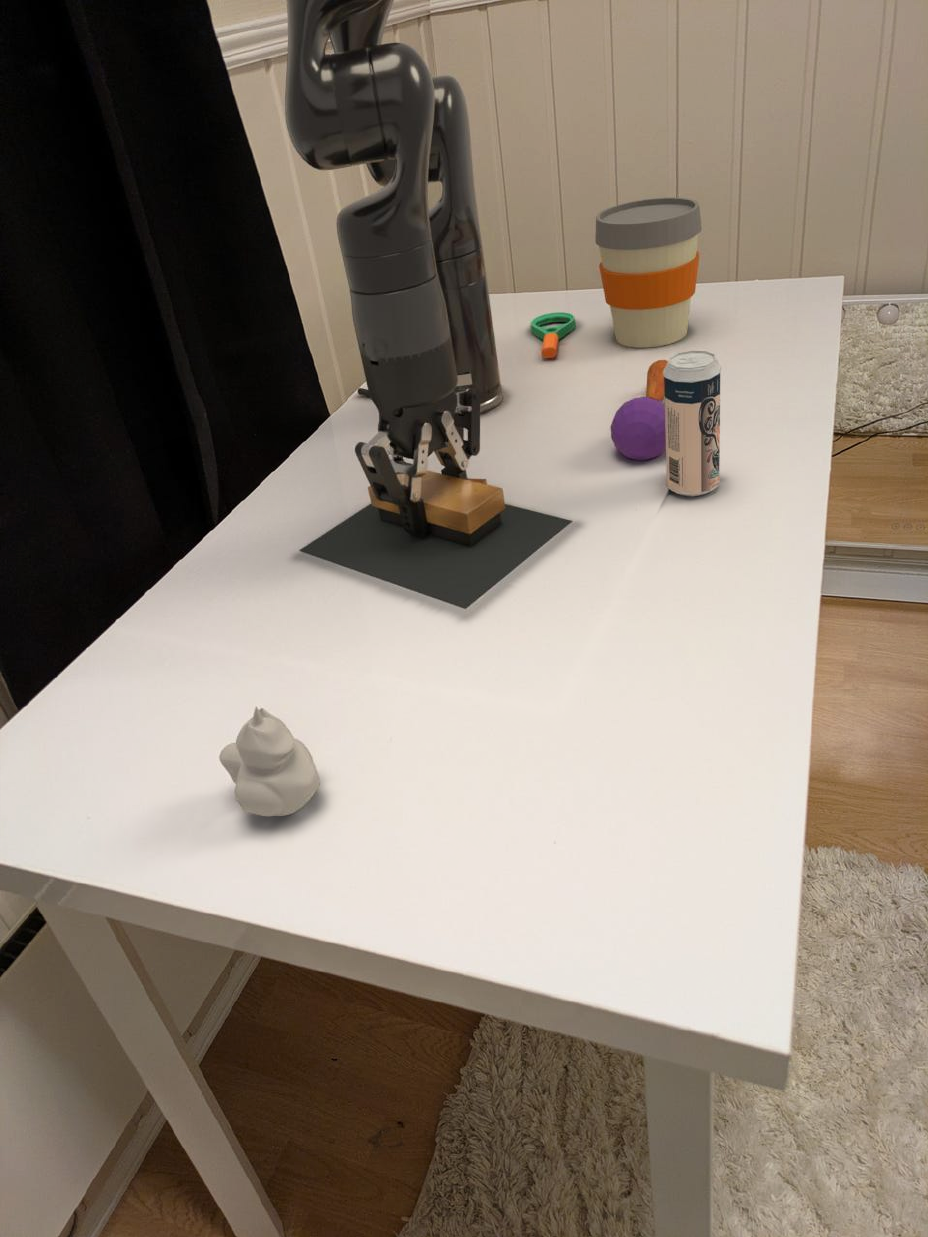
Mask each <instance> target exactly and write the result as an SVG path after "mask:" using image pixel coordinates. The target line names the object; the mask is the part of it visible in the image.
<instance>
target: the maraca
mask: <svg viewBox="0 0 928 1237" xmlns="http://www.w3.org/2000/svg"><path fill="white" fill-rule="evenodd" d="M668 361H669V360H667V359H658V360H656V361H654V362H653V363H651V364H650V365H649V367H648V369H647V372H646V390H645V396H641V397H634V398H632V399H630V400H628V401H627V400H626V401H625V402H624V403H622V405H621V406H620V407H618V409H617V410H616V411H615V414H614V416H613V419H612V421H611V424H610V438H611V440H612V443H613V445H614V447H615V448H616V450H618V451H619V452H620V453H621V454H622V455H623V456H625V457H626V458H628V459H632V460H634V461H648V460H650V459H654V458H657V457H660V456H661V455H662V454H663V453H665V452H666V431H665V403H663V402H662V400H664V399H665V393H664V375H663V371H664V369H665V367H666V365H667V363H668Z"/></svg>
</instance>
